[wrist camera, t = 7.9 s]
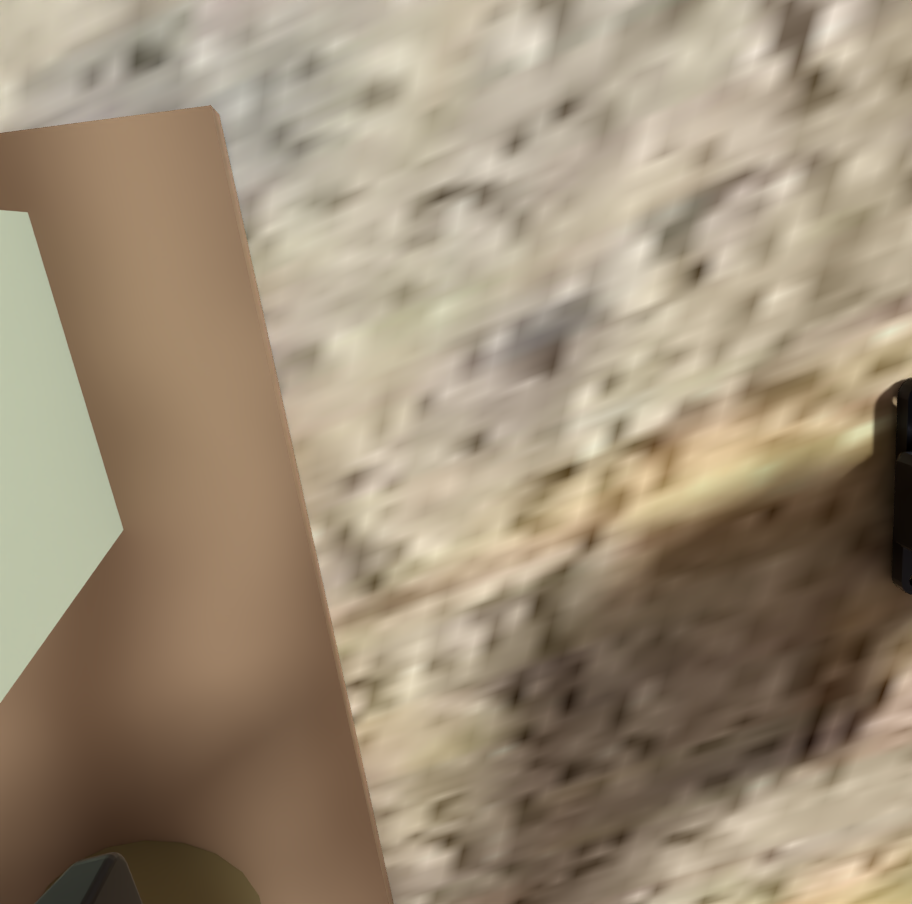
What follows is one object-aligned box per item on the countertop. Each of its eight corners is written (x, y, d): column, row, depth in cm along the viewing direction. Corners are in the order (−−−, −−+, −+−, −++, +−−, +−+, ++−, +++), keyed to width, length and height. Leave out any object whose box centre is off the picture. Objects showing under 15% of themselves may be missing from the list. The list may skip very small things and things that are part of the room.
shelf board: (219, 114, 16) (193, 86, 13) (422, 1037, 24) (435, 1150, 21) (-337, 188, 15) (-506, 176, 12) (75, 1132, 23) (36, 1267, 20)
